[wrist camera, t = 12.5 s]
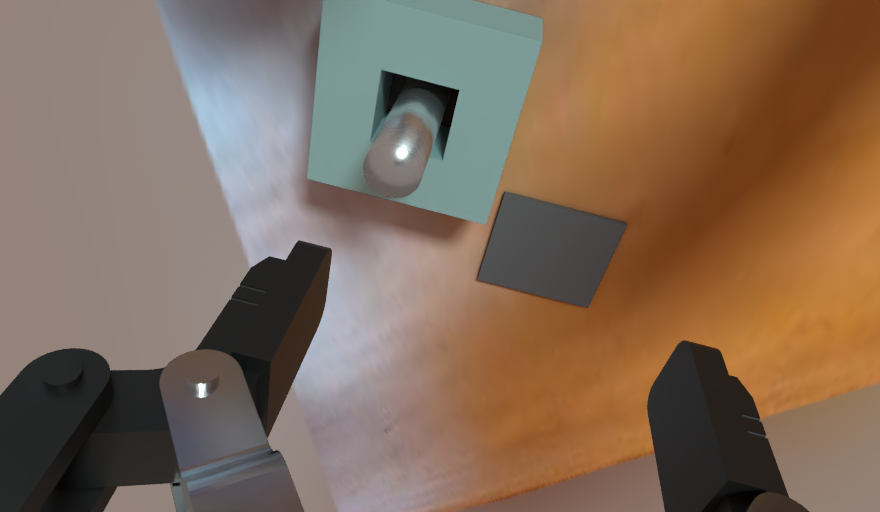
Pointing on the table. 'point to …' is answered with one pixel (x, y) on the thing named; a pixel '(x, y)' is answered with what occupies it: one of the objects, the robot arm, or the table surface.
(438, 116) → the pin
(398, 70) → the socket block
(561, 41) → the table surface
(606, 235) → the mat
